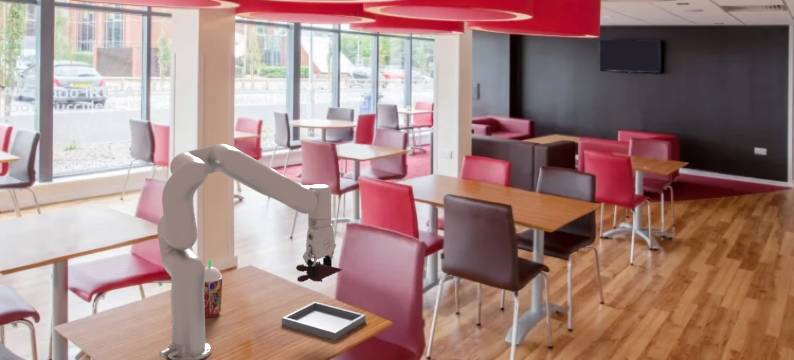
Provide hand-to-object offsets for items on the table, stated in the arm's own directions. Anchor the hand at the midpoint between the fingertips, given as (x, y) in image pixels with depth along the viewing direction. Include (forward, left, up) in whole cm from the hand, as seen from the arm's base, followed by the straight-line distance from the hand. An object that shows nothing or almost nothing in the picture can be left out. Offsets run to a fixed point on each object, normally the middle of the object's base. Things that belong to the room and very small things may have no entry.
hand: (319, 273), depth 218 cm
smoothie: (-14, +37, -19) cm, 43 cm away
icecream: (0, 0, -3) cm, 3 cm away
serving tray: (+2, 0, -18) cm, 18 cm away
